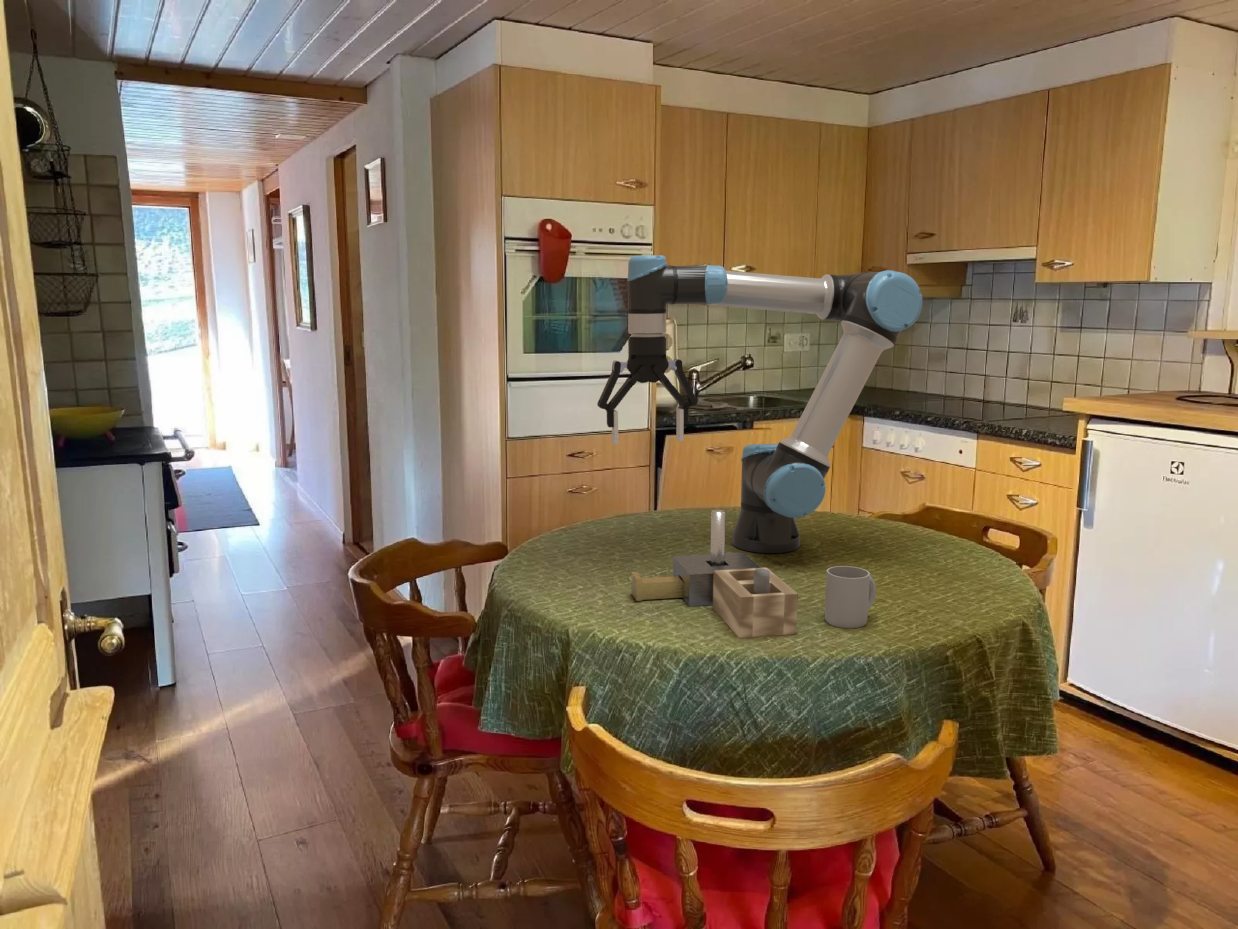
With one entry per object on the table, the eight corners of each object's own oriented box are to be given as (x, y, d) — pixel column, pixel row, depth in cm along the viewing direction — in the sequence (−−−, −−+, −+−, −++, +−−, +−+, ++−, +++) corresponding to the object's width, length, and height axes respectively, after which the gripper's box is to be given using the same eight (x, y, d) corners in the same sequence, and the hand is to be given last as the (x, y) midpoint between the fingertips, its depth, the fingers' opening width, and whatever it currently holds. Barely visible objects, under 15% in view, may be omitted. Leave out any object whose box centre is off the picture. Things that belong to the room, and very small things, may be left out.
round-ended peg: (721, 591, 176) (723, 509, 173) (725, 595, 174) (727, 512, 171) (707, 591, 176) (709, 510, 173) (711, 596, 173) (713, 513, 170)
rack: (765, 604, 169) (767, 551, 167) (796, 633, 154) (798, 576, 152) (712, 607, 167) (713, 554, 165) (739, 637, 152) (740, 579, 151)
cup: (815, 618, 162) (817, 569, 160) (858, 609, 166) (861, 561, 165) (844, 631, 155) (846, 580, 154) (888, 621, 160) (890, 572, 158)
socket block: (741, 581, 182) (742, 552, 181) (762, 601, 170) (763, 570, 169) (672, 585, 179) (673, 556, 178) (689, 606, 168) (689, 574, 166)
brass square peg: (682, 590, 176) (683, 569, 175) (688, 598, 171) (689, 576, 171) (631, 593, 174) (631, 572, 173) (636, 601, 169) (636, 579, 169)
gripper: (702, 333, 188) (701, 436, 192) (582, 335, 184) (584, 441, 188) (713, 334, 181) (712, 442, 185) (588, 337, 176) (590, 447, 180)
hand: (647, 442), depth 186 cm, fingers open, 13 cm apart
